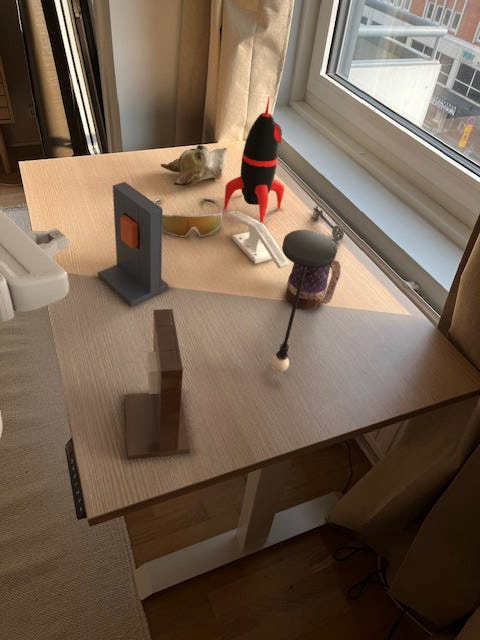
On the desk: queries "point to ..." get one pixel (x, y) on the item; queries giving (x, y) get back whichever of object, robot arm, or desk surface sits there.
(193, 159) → the ceramic sculpture
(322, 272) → the mug
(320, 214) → the key
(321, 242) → the light fixture
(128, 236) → the switch far
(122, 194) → the panel far
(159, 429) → the panel near
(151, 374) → the switch near
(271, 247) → the t-shaped cleat
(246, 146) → the toy rocket
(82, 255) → the desk surface
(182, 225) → the sunglasses
